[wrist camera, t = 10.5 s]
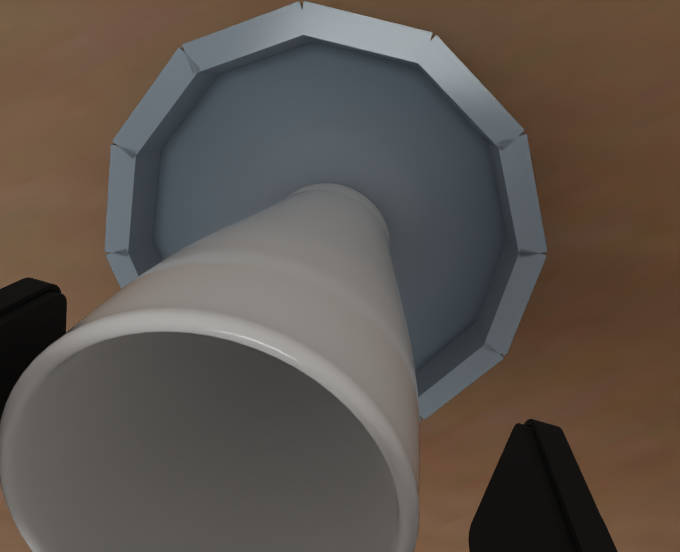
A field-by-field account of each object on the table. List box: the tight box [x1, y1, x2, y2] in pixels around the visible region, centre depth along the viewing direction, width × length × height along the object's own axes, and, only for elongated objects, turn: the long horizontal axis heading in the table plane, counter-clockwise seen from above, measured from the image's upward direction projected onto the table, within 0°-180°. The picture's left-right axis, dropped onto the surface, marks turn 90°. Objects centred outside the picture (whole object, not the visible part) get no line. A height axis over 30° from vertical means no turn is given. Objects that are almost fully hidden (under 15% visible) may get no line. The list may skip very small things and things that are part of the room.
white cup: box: [0, 183, 420, 552], centre depth 14 cm, size 7×7×15 cm
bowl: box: [105, 1, 547, 421], centre depth 21 cm, size 17×17×3 cm
